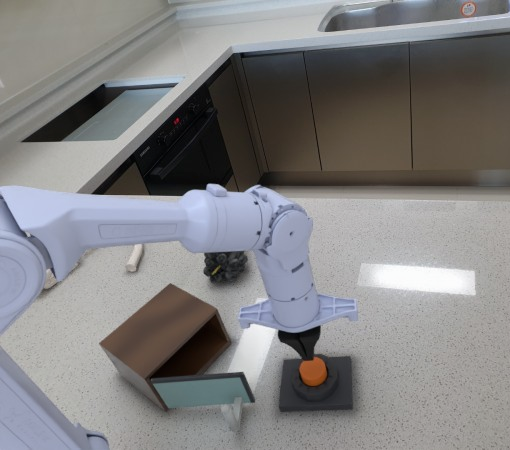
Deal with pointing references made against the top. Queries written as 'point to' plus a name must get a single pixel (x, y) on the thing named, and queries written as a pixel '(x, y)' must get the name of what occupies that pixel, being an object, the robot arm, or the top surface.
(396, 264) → the top surface
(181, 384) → the glass door
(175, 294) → the cabinet
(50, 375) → the top surface
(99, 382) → the top surface
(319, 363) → the light button
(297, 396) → the switch block
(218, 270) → the fruit
